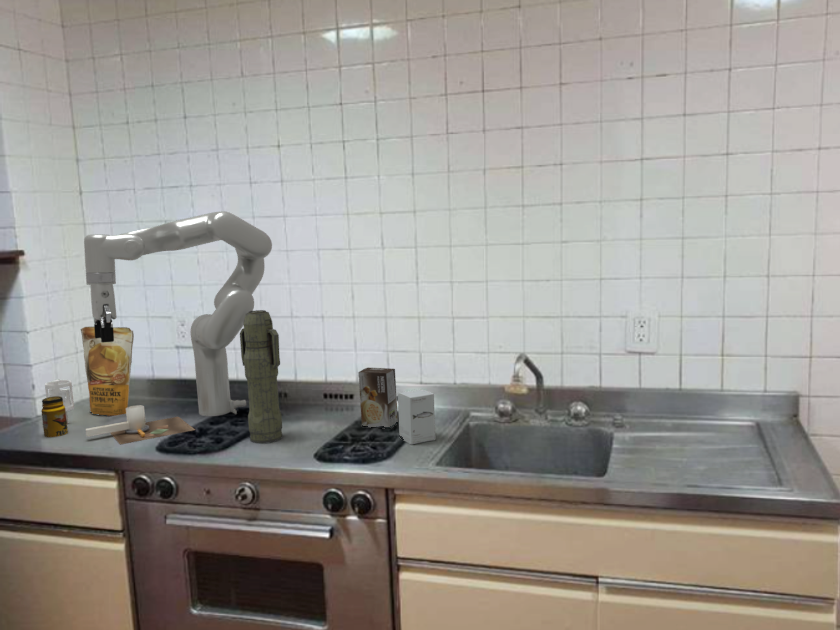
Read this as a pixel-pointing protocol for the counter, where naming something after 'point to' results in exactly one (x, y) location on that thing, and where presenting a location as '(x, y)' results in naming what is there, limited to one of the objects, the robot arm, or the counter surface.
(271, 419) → the thermos
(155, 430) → the brown square board
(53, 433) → the condiment
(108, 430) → the white handled piece
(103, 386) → the pancake mix bag
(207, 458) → the counter surface
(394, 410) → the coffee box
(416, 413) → the supplement box
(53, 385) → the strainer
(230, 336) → the robot arm
